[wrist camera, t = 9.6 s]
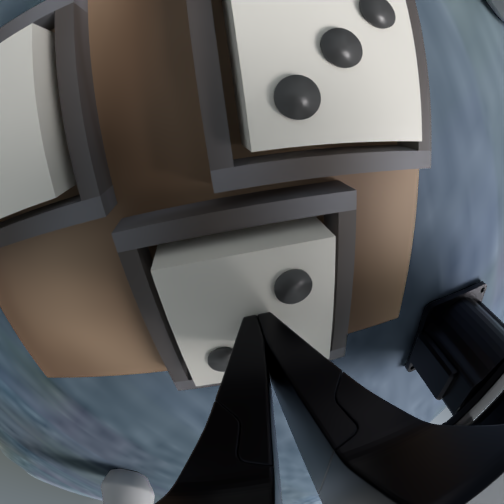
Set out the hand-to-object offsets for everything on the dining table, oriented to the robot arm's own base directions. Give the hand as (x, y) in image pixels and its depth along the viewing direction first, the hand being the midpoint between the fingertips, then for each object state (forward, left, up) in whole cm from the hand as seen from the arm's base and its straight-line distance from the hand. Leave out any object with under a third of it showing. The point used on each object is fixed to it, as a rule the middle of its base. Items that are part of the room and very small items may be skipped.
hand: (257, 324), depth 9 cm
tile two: (0, 0, -2) cm, 2 cm away
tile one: (+7, -8, -2) cm, 10 cm away
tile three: (-3, -7, -2) cm, 8 cm away
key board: (+2, -4, -4) cm, 6 cm away
